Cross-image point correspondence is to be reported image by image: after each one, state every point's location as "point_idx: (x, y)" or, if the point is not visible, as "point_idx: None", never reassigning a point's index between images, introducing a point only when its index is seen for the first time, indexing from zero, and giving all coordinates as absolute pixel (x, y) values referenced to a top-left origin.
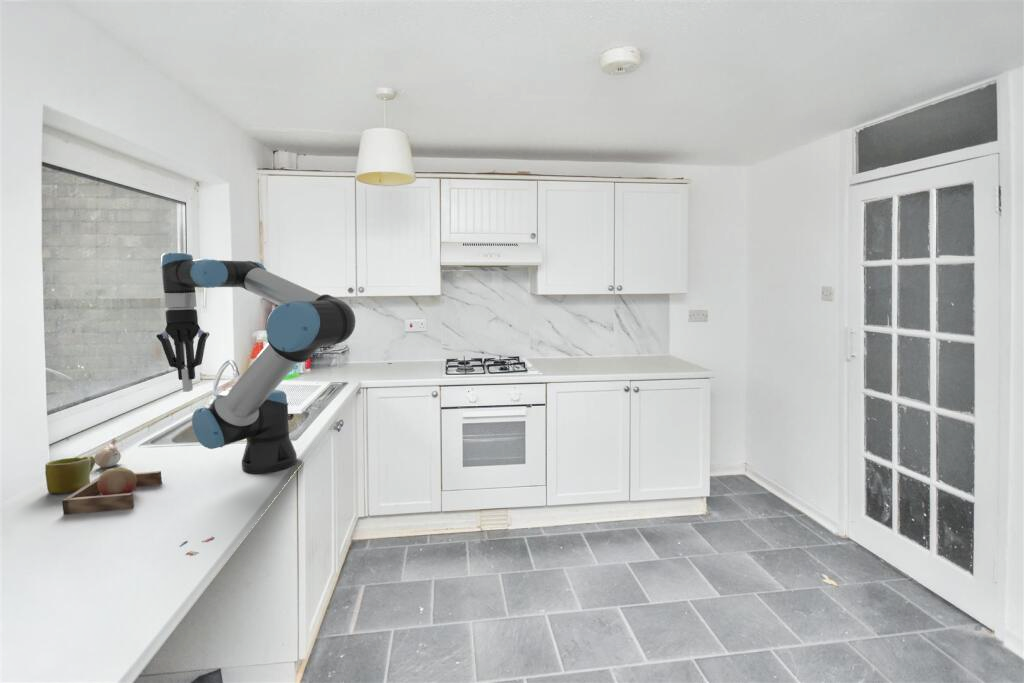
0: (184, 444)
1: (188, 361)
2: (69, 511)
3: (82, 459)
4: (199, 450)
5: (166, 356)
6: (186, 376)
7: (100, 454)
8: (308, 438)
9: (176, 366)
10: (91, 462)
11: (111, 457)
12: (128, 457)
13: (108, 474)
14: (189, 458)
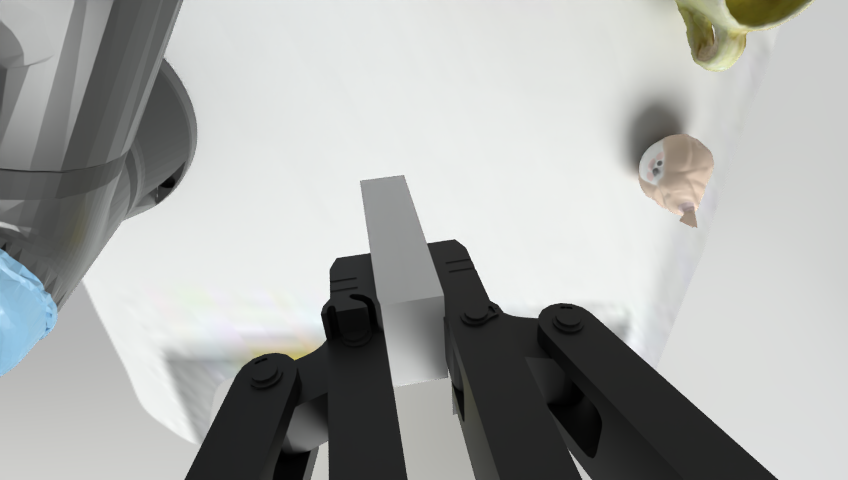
0: None
1: (365, 390)
2: None
3: (740, 20)
4: None
5: (695, 409)
6: (382, 251)
7: (699, 151)
8: (128, 368)
9: (515, 330)
10: (704, 50)
11: (662, 154)
12: (627, 230)
13: None
14: (442, 209)
